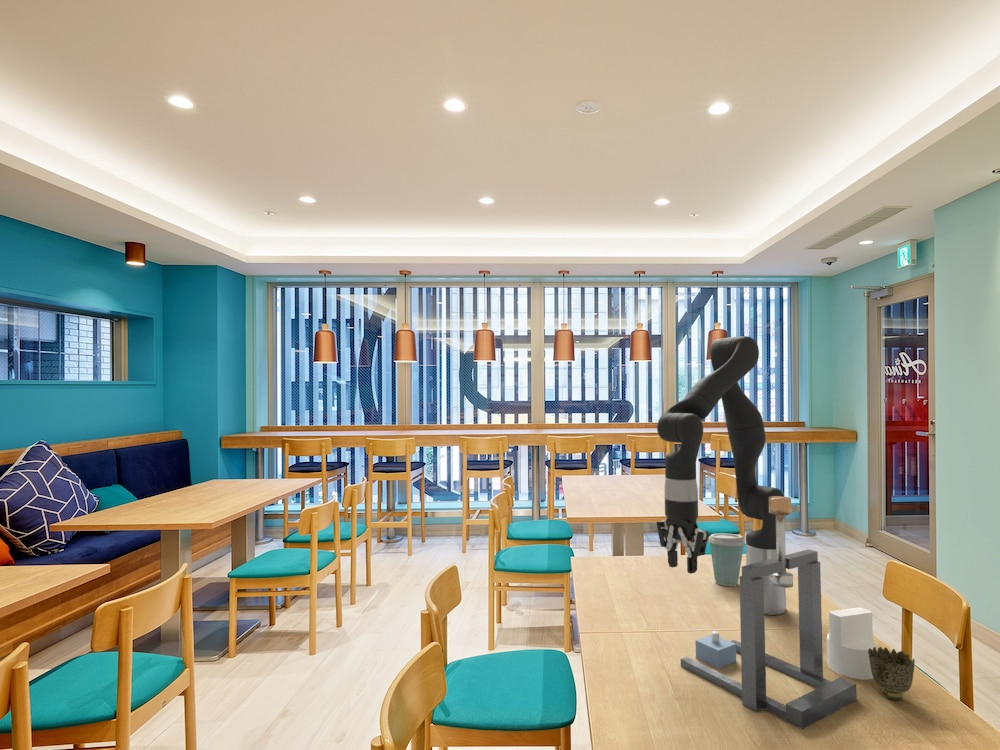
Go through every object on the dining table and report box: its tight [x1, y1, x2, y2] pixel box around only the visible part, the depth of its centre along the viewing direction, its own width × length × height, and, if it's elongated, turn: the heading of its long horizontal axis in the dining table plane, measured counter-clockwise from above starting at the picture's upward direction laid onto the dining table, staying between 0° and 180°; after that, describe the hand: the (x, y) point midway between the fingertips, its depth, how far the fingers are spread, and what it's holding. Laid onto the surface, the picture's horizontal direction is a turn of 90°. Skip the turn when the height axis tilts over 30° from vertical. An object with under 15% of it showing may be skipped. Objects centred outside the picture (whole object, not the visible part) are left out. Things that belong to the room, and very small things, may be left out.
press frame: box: [680, 549, 858, 730], centre depth 115 cm, size 22×27×26 cm
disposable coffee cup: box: [708, 533, 746, 587], centre depth 175 cm, size 11×11×15 cm
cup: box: [868, 646, 915, 701], centre depth 109 cm, size 8×7×8 cm
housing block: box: [695, 630, 737, 669], centre depth 125 cm, size 6×6×6 cm
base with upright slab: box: [826, 606, 877, 681], centre depth 120 cm, size 9×9×12 cm
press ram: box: [769, 496, 794, 589], centre depth 112 cm, size 4×4×17 cm
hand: (682, 569), depth 133 cm, fingers open, 5 cm apart
